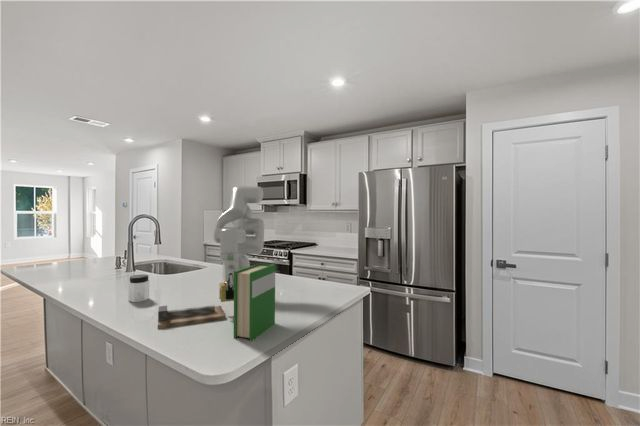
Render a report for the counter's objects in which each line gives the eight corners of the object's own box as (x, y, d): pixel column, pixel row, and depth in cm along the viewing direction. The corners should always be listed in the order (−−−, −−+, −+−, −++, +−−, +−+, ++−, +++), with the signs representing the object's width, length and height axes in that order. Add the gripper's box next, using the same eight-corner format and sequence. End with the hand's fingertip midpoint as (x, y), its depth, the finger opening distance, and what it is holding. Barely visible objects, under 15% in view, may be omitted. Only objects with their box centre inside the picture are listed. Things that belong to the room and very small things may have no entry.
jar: (128, 303, 145) (128, 278, 145) (128, 299, 152) (128, 275, 152) (149, 300, 150) (150, 276, 150) (148, 296, 157) (148, 273, 157)
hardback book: (251, 341, 105) (252, 273, 105) (233, 338, 108) (234, 271, 107) (274, 323, 122) (275, 264, 122) (258, 321, 124) (259, 263, 124)
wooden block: (235, 296, 137) (235, 281, 137) (237, 300, 131) (237, 284, 132) (219, 298, 134) (219, 282, 134) (221, 302, 128) (221, 285, 129)
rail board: (220, 309, 139) (220, 297, 139) (225, 319, 126) (225, 306, 126) (159, 316, 128) (159, 303, 128) (157, 328, 115) (157, 314, 115)
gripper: (241, 258, 127) (241, 301, 127) (234, 253, 142) (233, 292, 142) (223, 259, 124) (222, 303, 123) (217, 254, 139) (217, 293, 139)
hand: (228, 296), depth 133 cm, fingers closed on wooden block, 6 cm apart
